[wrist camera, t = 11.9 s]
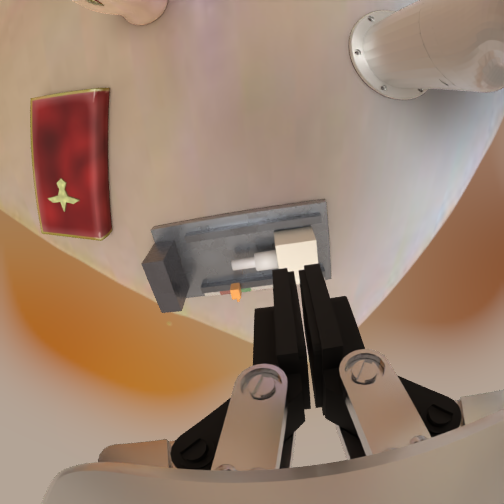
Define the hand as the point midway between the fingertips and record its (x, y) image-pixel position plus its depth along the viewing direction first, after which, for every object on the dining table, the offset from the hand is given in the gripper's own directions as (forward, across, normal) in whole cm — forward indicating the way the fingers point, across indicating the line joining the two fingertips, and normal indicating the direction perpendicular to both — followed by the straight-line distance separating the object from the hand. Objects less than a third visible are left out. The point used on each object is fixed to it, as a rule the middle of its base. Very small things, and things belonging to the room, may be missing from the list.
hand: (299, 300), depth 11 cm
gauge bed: (+29, +6, +13) cm, 32 cm away
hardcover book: (+30, +28, -5) cm, 41 cm away
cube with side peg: (+28, +2, +14) cm, 31 cm away
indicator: (+26, +8, +18) cm, 33 cm away
